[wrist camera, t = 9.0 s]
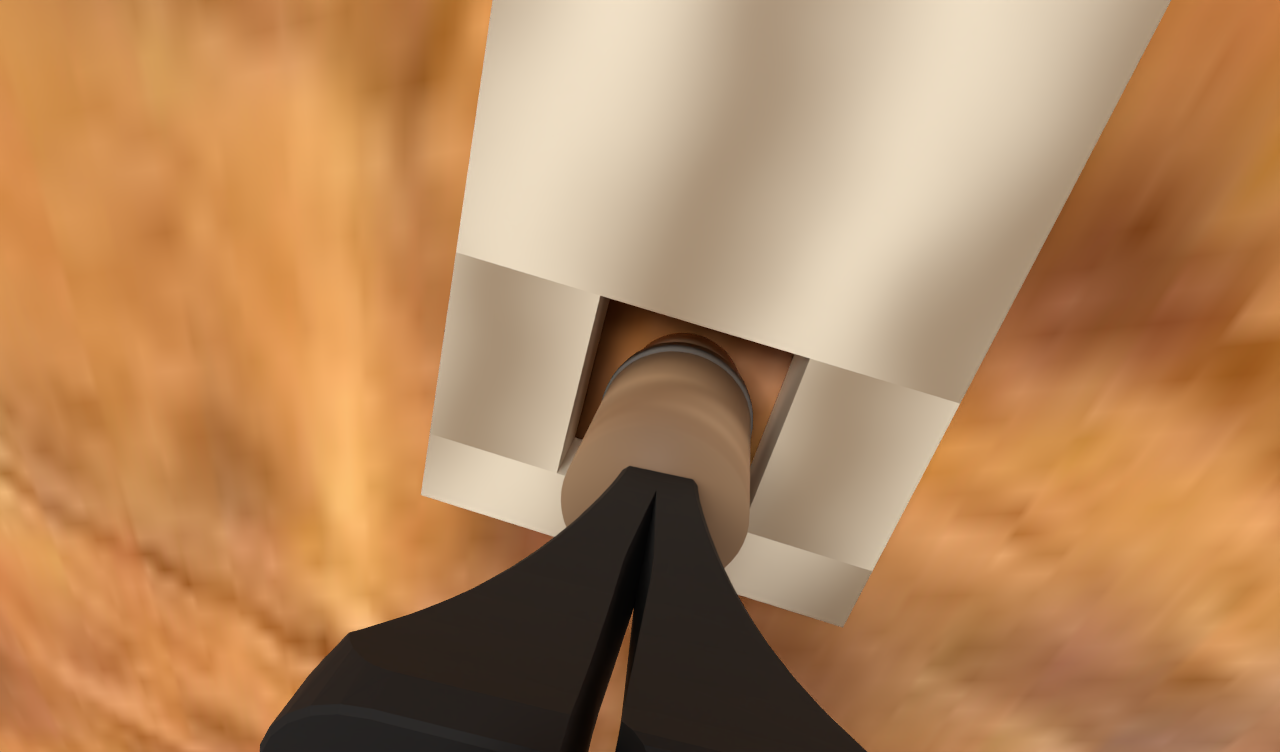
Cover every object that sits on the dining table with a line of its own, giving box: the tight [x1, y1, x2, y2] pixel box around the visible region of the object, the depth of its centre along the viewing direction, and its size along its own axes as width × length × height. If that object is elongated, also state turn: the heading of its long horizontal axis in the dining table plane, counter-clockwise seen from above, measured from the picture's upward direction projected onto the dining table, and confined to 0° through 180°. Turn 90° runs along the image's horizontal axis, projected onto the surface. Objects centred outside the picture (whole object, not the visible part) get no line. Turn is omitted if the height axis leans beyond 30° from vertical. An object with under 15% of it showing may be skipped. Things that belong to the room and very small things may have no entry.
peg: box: [561, 333, 753, 568], centre depth 15 cm, size 4×4×6 cm
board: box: [421, 0, 1171, 627], centre depth 16 cm, size 12×16×2 cm
